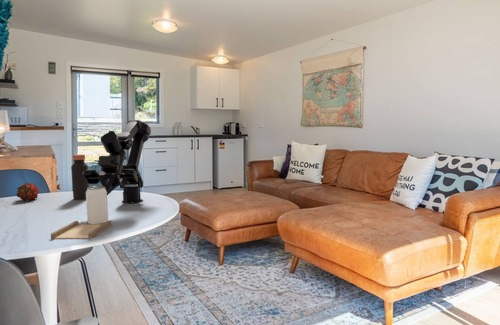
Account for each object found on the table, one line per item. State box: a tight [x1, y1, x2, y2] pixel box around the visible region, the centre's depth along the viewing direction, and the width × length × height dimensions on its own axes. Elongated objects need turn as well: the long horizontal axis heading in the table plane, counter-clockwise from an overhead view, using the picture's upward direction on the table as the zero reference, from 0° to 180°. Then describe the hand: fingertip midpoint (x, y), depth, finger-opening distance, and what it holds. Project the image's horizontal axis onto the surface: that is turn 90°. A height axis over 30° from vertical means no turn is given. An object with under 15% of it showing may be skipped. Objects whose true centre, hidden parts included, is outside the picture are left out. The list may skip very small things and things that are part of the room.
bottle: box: [70, 154, 90, 201], centre depth 162 cm, size 7×7×20 cm
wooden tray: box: [50, 220, 113, 240], centre depth 111 cm, size 14×12×2 cm
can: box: [85, 185, 109, 224], centre depth 120 cm, size 6×6×12 cm
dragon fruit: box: [16, 182, 40, 202], centre depth 162 cm, size 8×8×12 cm
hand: (104, 195), depth 126 cm, fingers closed
